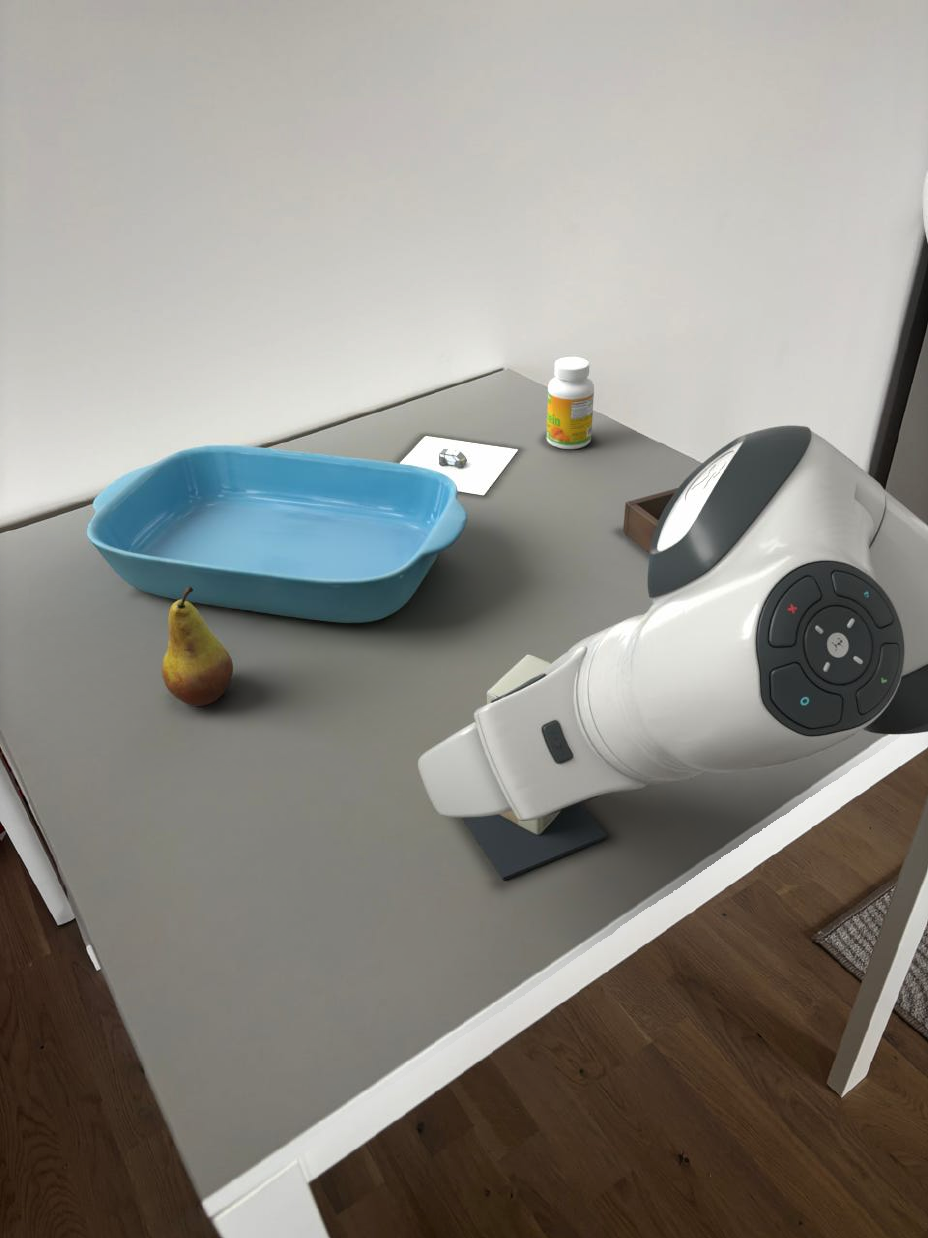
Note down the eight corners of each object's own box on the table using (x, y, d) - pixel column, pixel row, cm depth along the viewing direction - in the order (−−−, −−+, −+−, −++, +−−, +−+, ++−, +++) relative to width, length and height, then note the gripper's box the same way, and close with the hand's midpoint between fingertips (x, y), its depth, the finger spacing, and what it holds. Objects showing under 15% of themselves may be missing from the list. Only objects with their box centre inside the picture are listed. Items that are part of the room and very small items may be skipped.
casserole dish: (56, 601, 91) (34, 535, 87) (177, 491, 109) (164, 432, 104) (427, 663, 82) (423, 593, 78) (495, 532, 100) (494, 470, 96)
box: (528, 769, 71) (530, 649, 65) (578, 794, 69) (585, 672, 63) (486, 812, 68) (484, 690, 62) (537, 839, 66) (541, 716, 59)
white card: (483, 495, 106) (483, 483, 105) (384, 479, 110) (383, 467, 109) (518, 449, 115) (518, 437, 114) (425, 436, 119) (424, 424, 118)
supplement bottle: (538, 436, 118) (540, 358, 113) (577, 427, 120) (581, 351, 114) (559, 453, 114) (562, 374, 109) (599, 444, 116) (604, 366, 110)
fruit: (244, 672, 82) (220, 551, 75) (230, 717, 77) (203, 593, 70) (178, 673, 82) (148, 552, 75) (160, 718, 77) (127, 594, 70)
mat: (606, 838, 66) (606, 835, 66) (503, 880, 64) (503, 878, 63) (547, 764, 72) (548, 761, 72) (450, 801, 69) (450, 798, 69)
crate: (811, 564, 94) (818, 532, 92) (705, 598, 89) (709, 566, 87) (721, 503, 104) (726, 474, 102) (622, 532, 99) (625, 501, 97)
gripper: (747, 592, 58) (628, 641, 70) (454, 719, 49) (378, 749, 62) (791, 690, 57) (663, 721, 70) (504, 835, 49) (417, 842, 61)
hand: (527, 735), depth 66 cm, fingers closed on box, 6 cm apart
